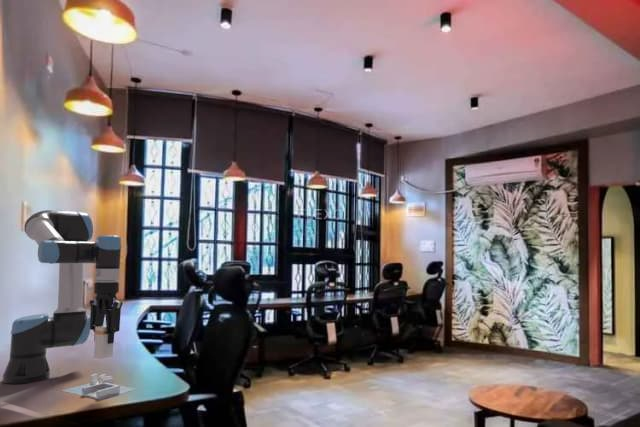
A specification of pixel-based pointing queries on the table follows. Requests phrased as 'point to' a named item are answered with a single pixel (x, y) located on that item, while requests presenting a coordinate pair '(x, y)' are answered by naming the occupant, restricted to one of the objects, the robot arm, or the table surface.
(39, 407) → the table surface
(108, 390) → the end holder
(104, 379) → the clip
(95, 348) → the white bottle
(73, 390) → the board
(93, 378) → the clip
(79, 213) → the robot arm
